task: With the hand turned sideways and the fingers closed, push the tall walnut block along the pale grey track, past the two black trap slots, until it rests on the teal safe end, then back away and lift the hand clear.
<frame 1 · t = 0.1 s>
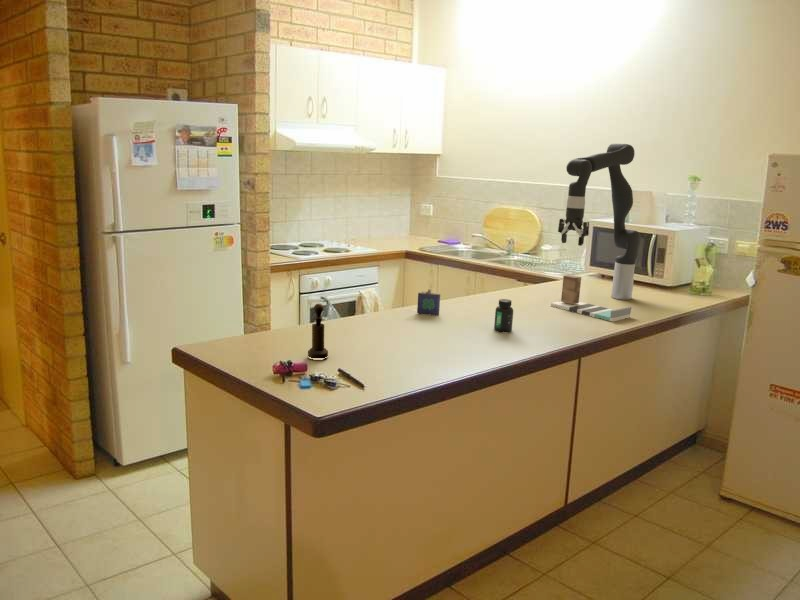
hand: (572, 244, 300), 29 cm above the table, tool pointing down, fingers open, 8 cm apart
supplement bottle: (502, 330, 267), on the table
slider block: (571, 289, 310), point 8 cm above the table, slide at -10.0 cm
track: (588, 311, 305), on the table
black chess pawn: (317, 358, 223), on the table
flask: (428, 314, 287), on the table
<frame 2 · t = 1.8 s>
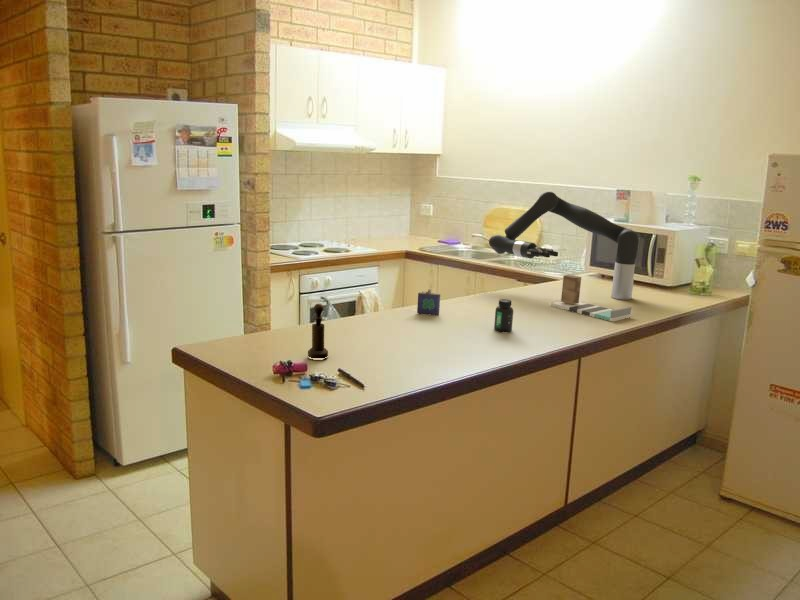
hand: (553, 254, 315), 22 cm above the table, tool horizontal, fingers open, 5 cm apart
nothing on the table moved.
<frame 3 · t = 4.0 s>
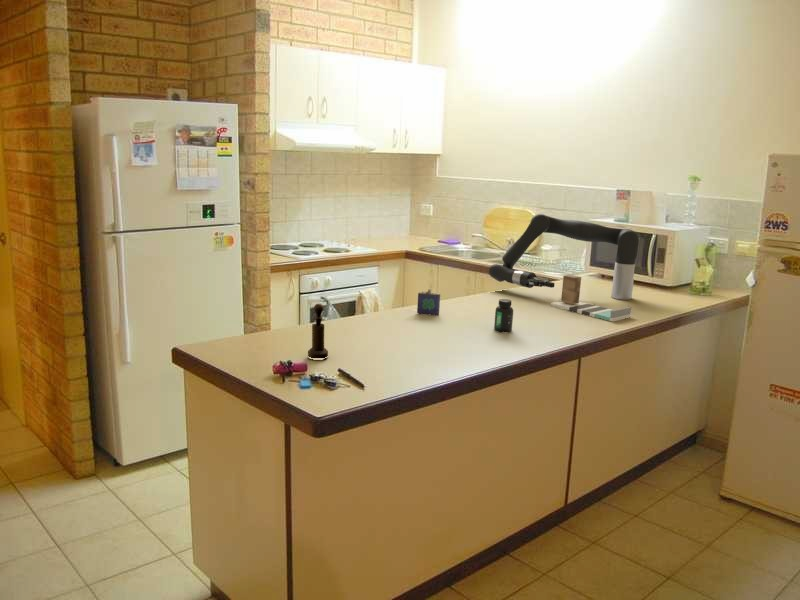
hand: (553, 285, 317), 8 cm above the table, tool horizontal, fingers closed
nothing on the table moved.
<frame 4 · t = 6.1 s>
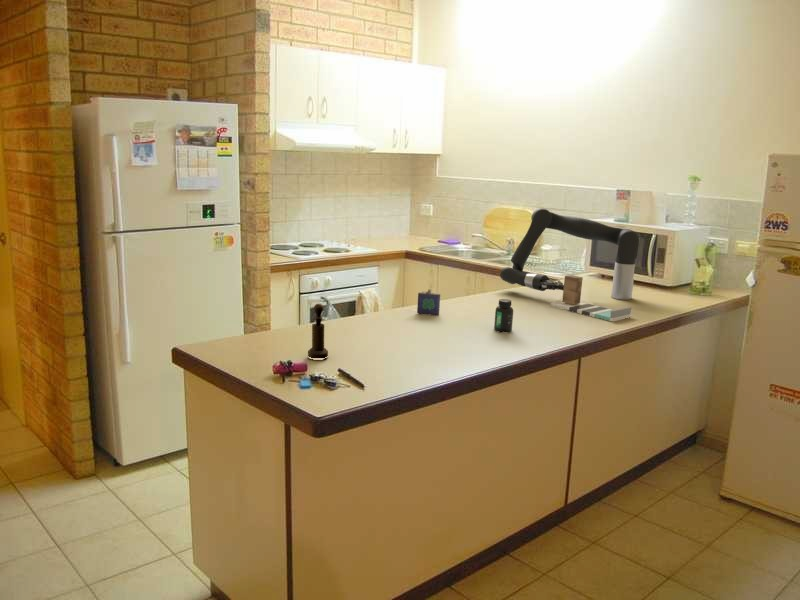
hand: (566, 288, 312), 8 cm above the table, tool horizontal, fingers closed
slider block: (572, 289, 310), point 8 cm above the table, slide at -9.3 cm, touching gripper
everything else where it was.
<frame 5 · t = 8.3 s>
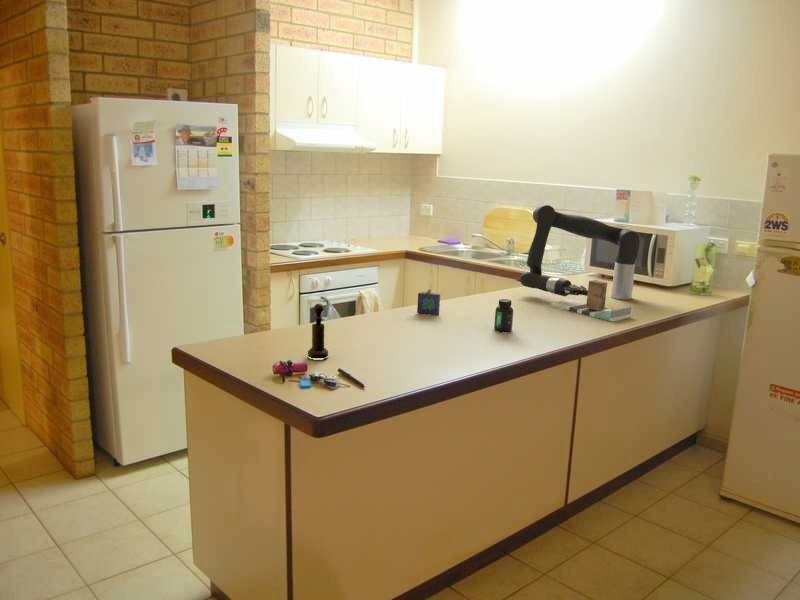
hand: (590, 293, 303), 8 cm above the table, tool horizontal, fingers closed
slider block: (596, 295, 300), point 8 cm above the table, slide at 3.4 cm, touching gripper
everything else where it was.
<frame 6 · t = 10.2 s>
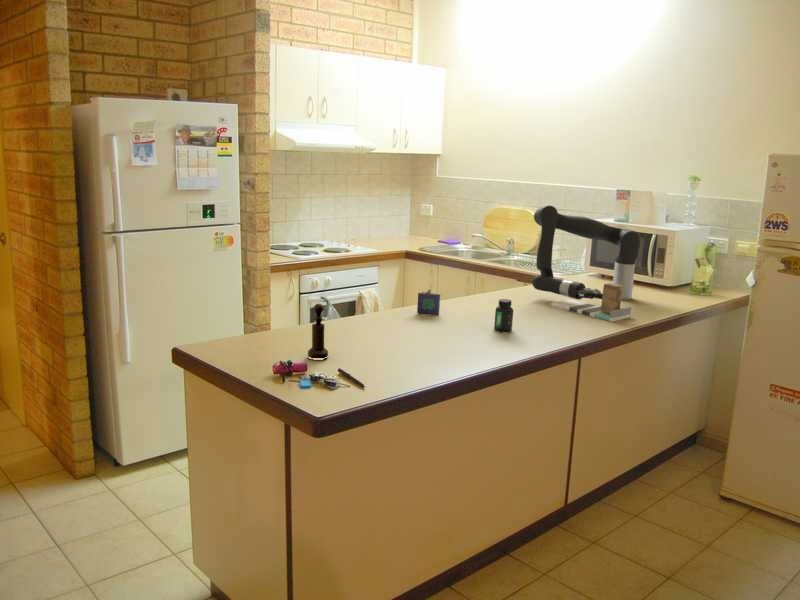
hand: (605, 297, 297), 8 cm above the table, tool horizontal, fingers closed
slider block: (611, 298, 295), point 8 cm above the table, slide at 10.9 cm, touching gripper
everything else where it was.
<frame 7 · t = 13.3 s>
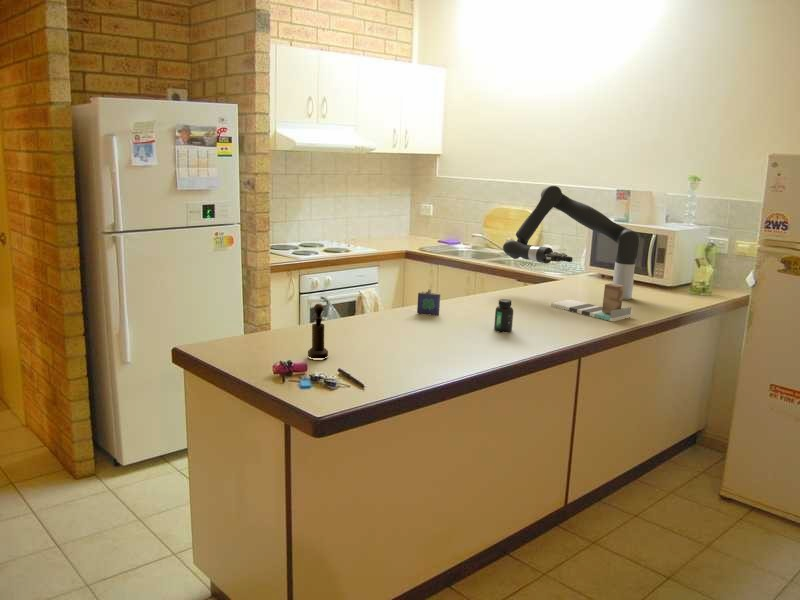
hand: (571, 259, 308), 21 cm above the table, tool horizontal, fingers closed
slider block: (612, 298, 294), point 8 cm above the table, slide at 11.5 cm
everything else where it was.
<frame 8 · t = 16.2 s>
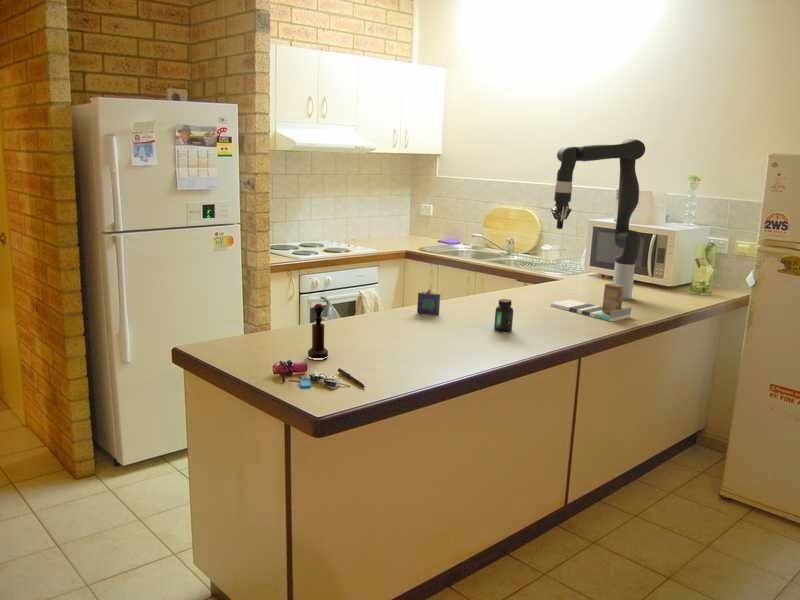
hand: (559, 228, 322), 33 cm above the table, tool pointing down, fingers closed
nothing on the table moved.
at the end: slider block slide at 11.5 cm; slider block 0.2 cm from the target spot, resting on track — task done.
